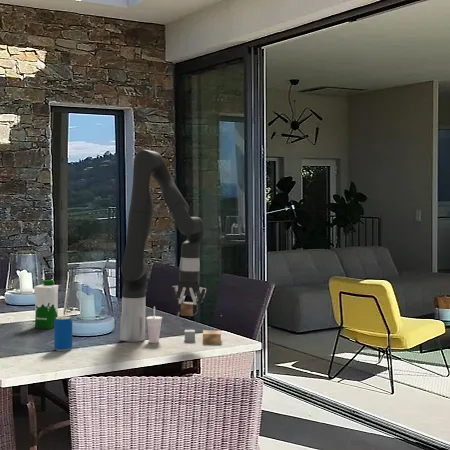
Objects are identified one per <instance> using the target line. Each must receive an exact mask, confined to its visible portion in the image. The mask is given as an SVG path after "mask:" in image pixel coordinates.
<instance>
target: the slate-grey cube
mask: <svg viewBox="0 0 450 450" xmlns="http://www.w3.org/2000/svg"><path fill="white" fill-rule="evenodd" d="M184 342H187V343H190V342H192V343H193V342H194V343H196V330H195V329H184Z"/></svg>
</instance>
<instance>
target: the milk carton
mask: <svg viewBox="0 0 450 450" xmlns="http://www.w3.org/2000/svg"><path fill="white" fill-rule="evenodd" d="M33 288H34V295H35V301H34V302H35V303H34V304H35V308H34V310H35V317H34V318H35V320H34V323H35V324H34V329H42V330H44V329H45V330H47V329H48V330H52V329H54V321H55V319H56V317H59V316H58V315H59V314H58V311H59V307H58V295H59V284H54V280H53V279H45V280H43V284H38V285H36V286H34V287H33Z"/></svg>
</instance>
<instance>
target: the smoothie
mask: <svg viewBox="0 0 450 450" xmlns="http://www.w3.org/2000/svg"><path fill="white" fill-rule="evenodd" d="M162 321H163V316H158V315H156V306H153V316H152V315H150V316H147V317H146V316H145V322H146V325H147V333H148V334H147V335H148V343H150V344H157V343H159V341H160V333H161V325H162Z"/></svg>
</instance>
